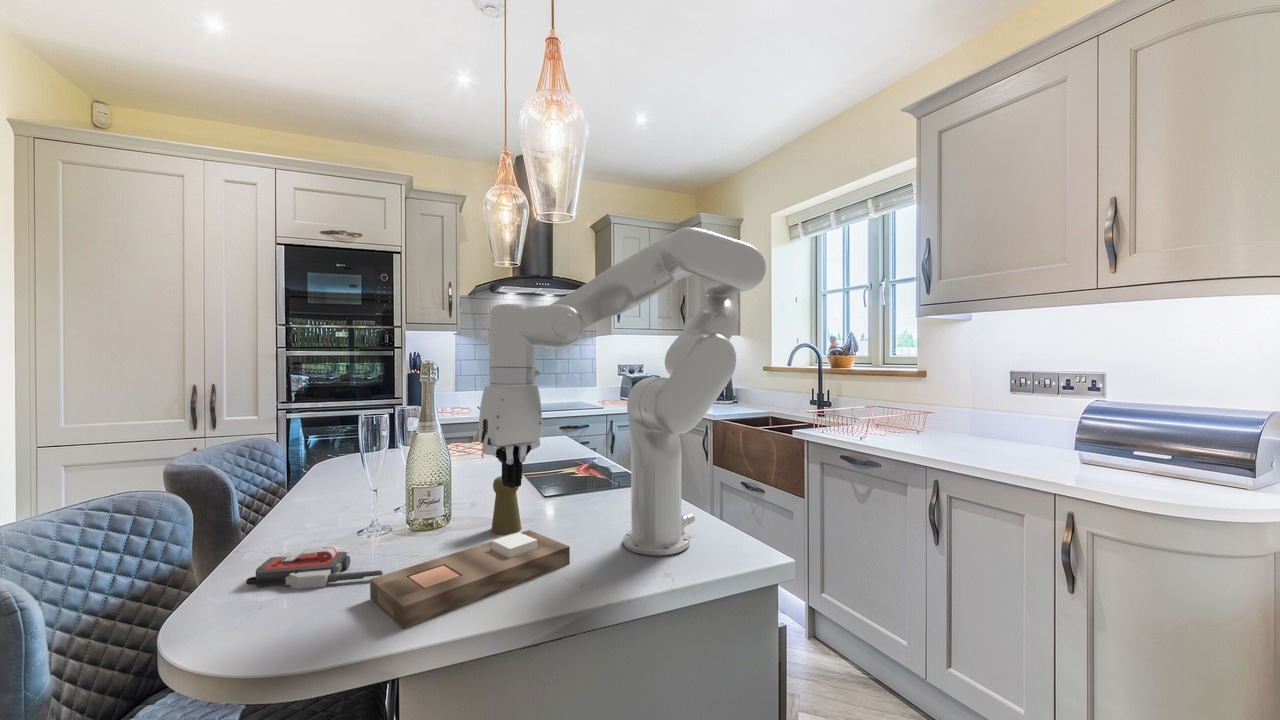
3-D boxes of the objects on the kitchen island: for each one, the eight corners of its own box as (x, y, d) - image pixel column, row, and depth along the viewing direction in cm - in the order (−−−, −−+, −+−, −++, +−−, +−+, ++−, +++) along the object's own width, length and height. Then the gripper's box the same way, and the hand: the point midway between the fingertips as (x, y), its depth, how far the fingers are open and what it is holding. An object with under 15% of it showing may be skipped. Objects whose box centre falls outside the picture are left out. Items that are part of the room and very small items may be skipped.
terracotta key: (443, 580, 80) (443, 565, 80) (460, 591, 76) (460, 575, 76) (409, 592, 76) (408, 576, 76) (424, 604, 72) (424, 587, 72)
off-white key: (519, 545, 90) (519, 532, 90) (537, 553, 87) (537, 539, 87) (492, 554, 86) (492, 540, 86) (510, 563, 83) (509, 548, 83)
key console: (529, 545, 96) (529, 530, 96) (569, 563, 88) (569, 546, 87) (370, 599, 75) (370, 579, 75) (403, 629, 67) (403, 606, 67)
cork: (484, 531, 103) (484, 478, 103) (505, 522, 109) (505, 471, 109) (507, 536, 101) (506, 481, 100) (527, 527, 106) (527, 474, 106)
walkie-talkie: (237, 598, 77) (380, 584, 81) (236, 569, 77) (380, 557, 81) (266, 573, 85) (395, 562, 90) (266, 547, 85) (394, 537, 90)
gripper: (536, 375, 94) (535, 474, 94) (460, 378, 83) (459, 489, 83) (561, 377, 89) (560, 481, 89) (483, 380, 78) (483, 499, 78)
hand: (511, 485), depth 86 cm, fingers closed
